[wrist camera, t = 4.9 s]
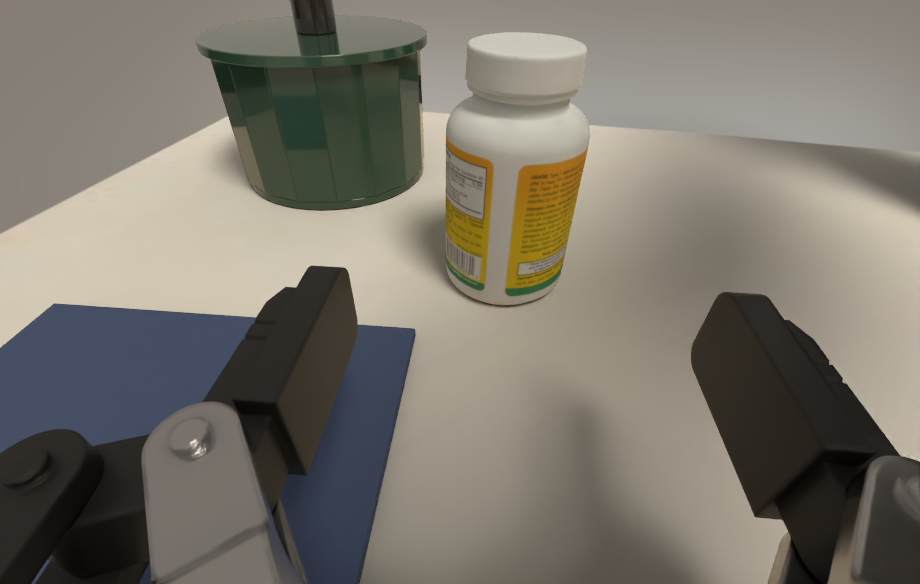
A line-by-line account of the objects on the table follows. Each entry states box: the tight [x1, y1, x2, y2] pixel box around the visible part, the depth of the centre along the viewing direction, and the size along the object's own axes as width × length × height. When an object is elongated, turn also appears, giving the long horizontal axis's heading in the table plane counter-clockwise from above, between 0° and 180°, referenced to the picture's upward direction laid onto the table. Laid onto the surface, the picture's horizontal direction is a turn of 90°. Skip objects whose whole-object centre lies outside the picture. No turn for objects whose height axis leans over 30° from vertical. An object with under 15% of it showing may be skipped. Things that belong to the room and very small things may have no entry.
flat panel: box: [0, 304, 415, 584], centre depth 13 cm, size 12×15×1 cm
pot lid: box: [195, 0, 427, 68], centre depth 24 cm, size 12×12×3 cm
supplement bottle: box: [446, 32, 590, 305], centre depth 18 cm, size 5×5×10 cm
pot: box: [211, 50, 424, 210], centre depth 27 cm, size 11×11×8 cm
